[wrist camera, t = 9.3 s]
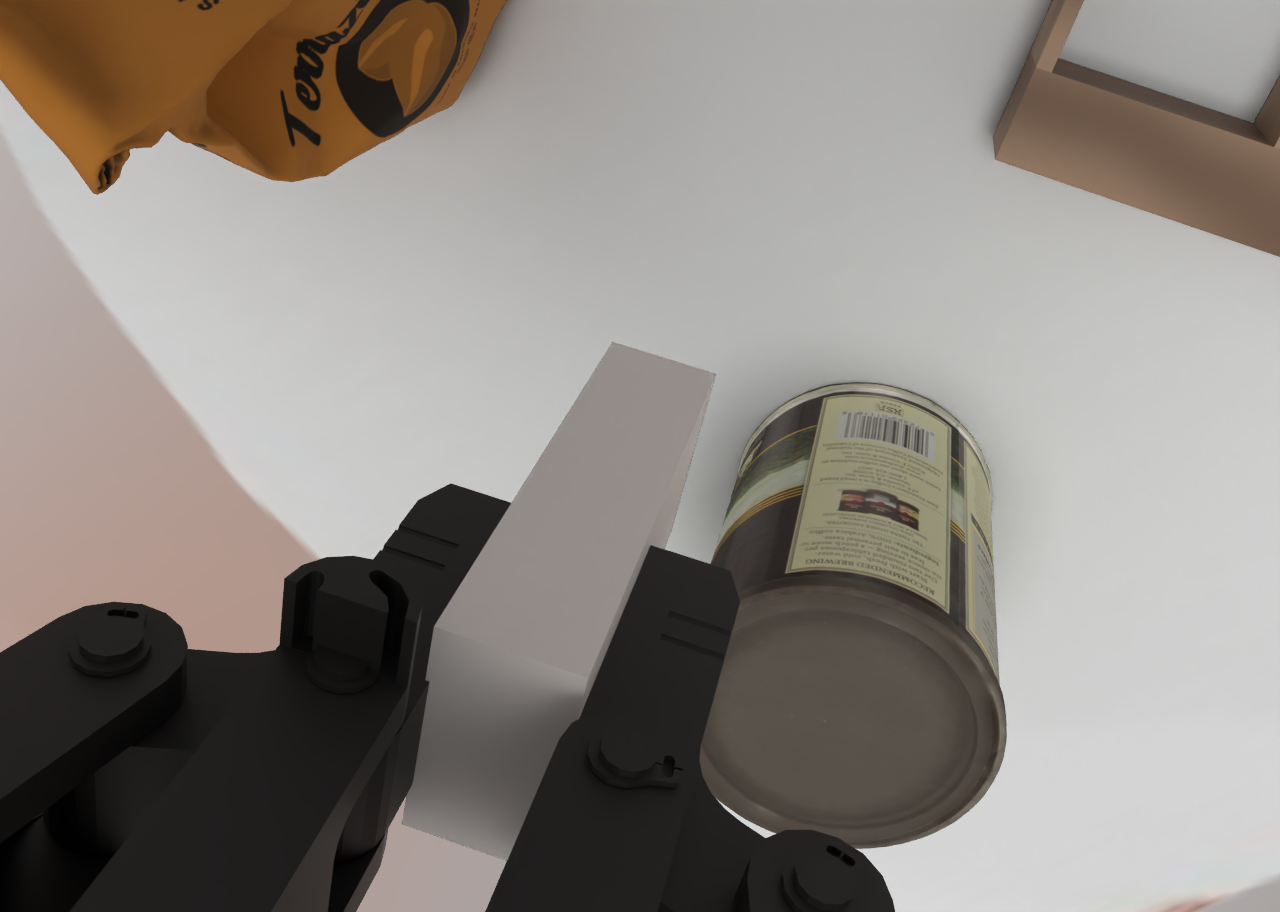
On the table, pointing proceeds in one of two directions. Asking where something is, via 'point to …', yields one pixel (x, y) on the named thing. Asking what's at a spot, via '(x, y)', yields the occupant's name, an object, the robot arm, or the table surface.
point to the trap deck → (1143, 143)
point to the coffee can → (858, 622)
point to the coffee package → (236, 75)
